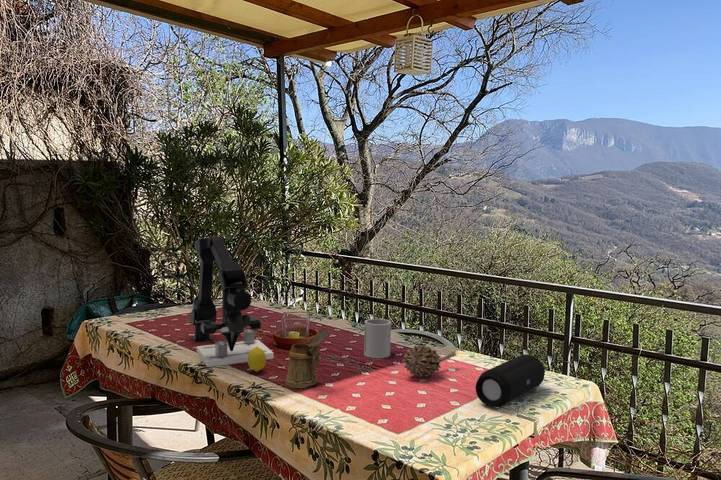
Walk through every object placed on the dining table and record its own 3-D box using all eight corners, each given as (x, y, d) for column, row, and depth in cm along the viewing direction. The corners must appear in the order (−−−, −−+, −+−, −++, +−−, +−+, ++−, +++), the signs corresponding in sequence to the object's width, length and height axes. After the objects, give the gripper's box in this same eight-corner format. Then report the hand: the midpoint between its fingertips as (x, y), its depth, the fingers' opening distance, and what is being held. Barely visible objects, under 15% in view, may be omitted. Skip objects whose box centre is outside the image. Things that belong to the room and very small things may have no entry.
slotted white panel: (196, 352, 185) (196, 346, 185) (258, 345, 195) (258, 339, 195) (207, 367, 169) (207, 360, 169) (273, 358, 179) (273, 352, 179)
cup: (395, 355, 185) (396, 321, 184) (378, 361, 178) (379, 326, 177) (375, 350, 191) (376, 317, 190) (358, 355, 185) (359, 321, 184)
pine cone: (419, 386, 155) (420, 353, 155) (395, 377, 162) (396, 345, 162) (464, 370, 170) (465, 340, 169) (441, 363, 177) (441, 334, 176)
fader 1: (215, 354, 175) (215, 342, 174) (224, 353, 176) (224, 341, 176) (218, 357, 171) (218, 345, 171) (227, 356, 173) (227, 344, 172)
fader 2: (243, 341, 191) (243, 329, 191) (251, 340, 192) (251, 329, 192) (246, 343, 188) (246, 332, 187) (254, 342, 189) (254, 331, 189)
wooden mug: (314, 394, 147) (315, 331, 146) (279, 384, 155) (279, 323, 153) (334, 385, 154) (335, 325, 153) (299, 376, 162) (300, 318, 161)
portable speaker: (505, 415, 136) (507, 377, 135) (471, 404, 143) (473, 368, 142) (547, 390, 155) (548, 356, 154) (515, 381, 161) (516, 349, 160)
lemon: (261, 375, 162) (261, 350, 161) (244, 374, 163) (244, 348, 162) (268, 370, 167) (268, 345, 167) (252, 368, 168) (252, 343, 168)
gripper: (207, 311, 162) (207, 361, 164) (266, 306, 171) (266, 354, 172) (200, 304, 172) (200, 351, 174) (256, 300, 181) (256, 345, 182)
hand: (231, 350), depth 175 cm, fingers closed
